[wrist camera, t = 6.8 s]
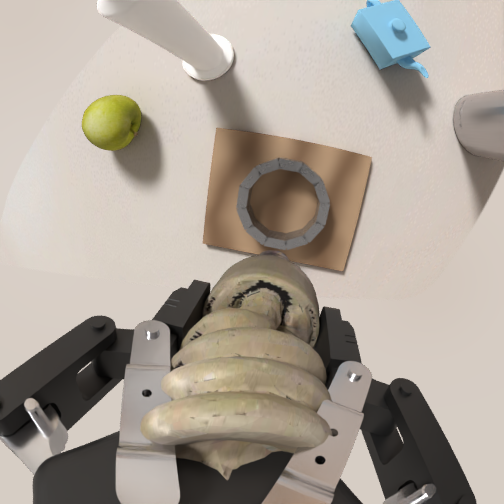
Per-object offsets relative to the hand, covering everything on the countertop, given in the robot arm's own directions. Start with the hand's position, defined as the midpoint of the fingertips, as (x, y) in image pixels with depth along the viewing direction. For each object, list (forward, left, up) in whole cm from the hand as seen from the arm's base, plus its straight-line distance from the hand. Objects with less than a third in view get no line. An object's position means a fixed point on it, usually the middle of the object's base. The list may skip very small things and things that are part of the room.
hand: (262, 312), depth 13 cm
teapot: (-10, -24, -27) cm, 37 cm away
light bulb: (0, 0, -6) cm, 6 cm away
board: (0, 0, -27) cm, 27 cm away
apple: (+24, -8, -27) cm, 37 cm away
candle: (+13, -18, -27) cm, 35 cm away
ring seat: (0, 0, -27) cm, 27 cm away
